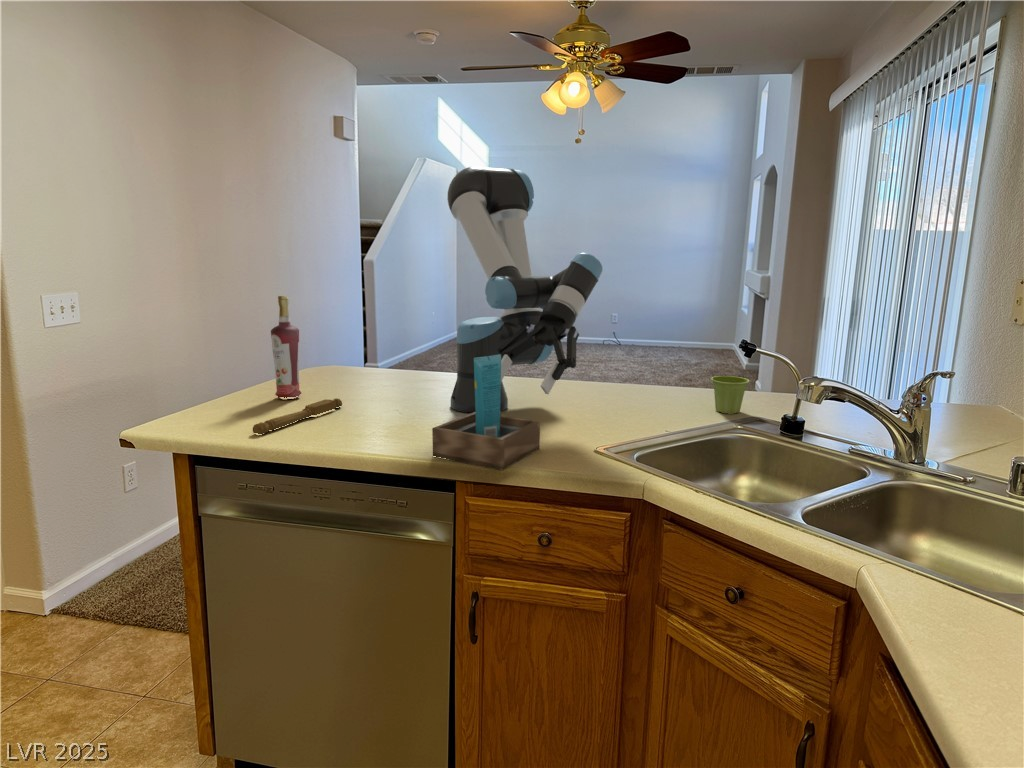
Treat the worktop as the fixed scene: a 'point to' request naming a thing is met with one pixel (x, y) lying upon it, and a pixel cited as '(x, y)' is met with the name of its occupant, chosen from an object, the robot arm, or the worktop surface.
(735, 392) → the plant pot
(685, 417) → the worktop surface
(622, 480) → the worktop surface
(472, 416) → the crate
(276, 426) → the tap handle
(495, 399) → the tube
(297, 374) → the liquor
